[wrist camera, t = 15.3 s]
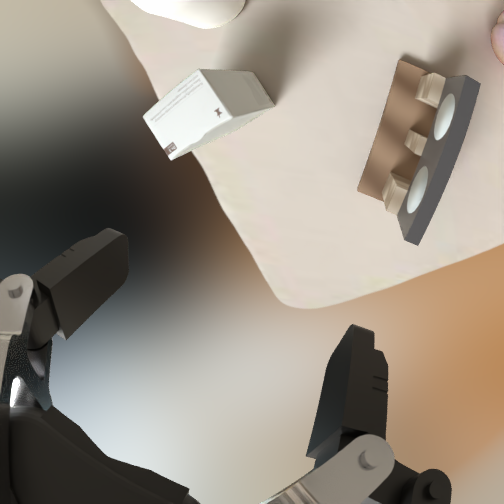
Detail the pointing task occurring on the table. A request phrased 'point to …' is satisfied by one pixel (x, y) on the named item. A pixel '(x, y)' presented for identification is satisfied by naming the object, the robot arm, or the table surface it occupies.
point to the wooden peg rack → (401, 134)
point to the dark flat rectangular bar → (438, 156)
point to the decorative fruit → (498, 38)
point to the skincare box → (206, 109)
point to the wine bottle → (194, 10)
